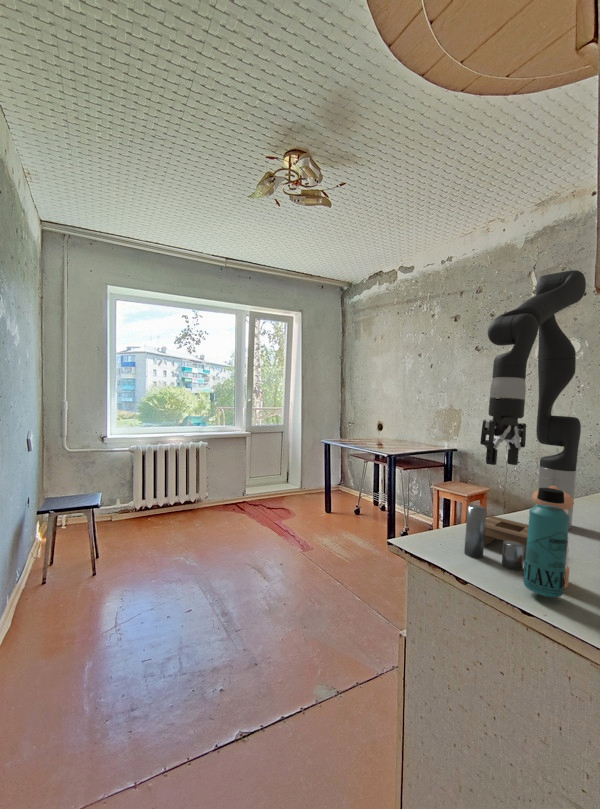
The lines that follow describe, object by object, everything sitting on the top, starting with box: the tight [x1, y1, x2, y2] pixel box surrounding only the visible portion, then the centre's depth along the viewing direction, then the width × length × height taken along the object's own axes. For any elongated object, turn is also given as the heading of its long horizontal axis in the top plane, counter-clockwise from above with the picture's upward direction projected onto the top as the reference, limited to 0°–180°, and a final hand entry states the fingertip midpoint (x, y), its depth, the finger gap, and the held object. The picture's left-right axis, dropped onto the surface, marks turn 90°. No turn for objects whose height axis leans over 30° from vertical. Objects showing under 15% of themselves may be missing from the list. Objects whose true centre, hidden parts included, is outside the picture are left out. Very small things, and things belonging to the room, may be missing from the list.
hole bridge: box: [484, 515, 529, 560], centre depth 94 cm, size 12×12×5 cm
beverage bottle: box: [522, 488, 570, 598], centre depth 69 cm, size 6×7×20 cm
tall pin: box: [463, 504, 487, 559], centre depth 87 cm, size 4×4×11 cm
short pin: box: [501, 540, 525, 572], centre depth 81 cm, size 4×4×5 cm
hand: (501, 464), depth 90 cm, fingers open, 8 cm apart
